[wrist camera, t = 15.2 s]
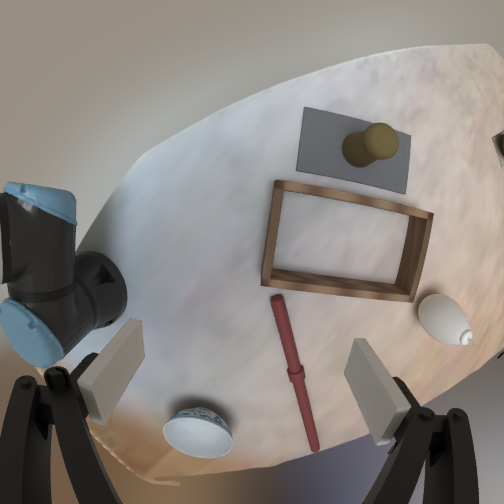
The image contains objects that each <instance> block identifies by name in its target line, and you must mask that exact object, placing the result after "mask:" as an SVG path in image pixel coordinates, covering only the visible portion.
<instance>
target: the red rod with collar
mask: <svg viewBox="0 0 504 504" xmlns="http://www.w3.org/2000/svg"><path fill="white" fill-rule="evenodd" d="M270 302H271V305H272V309H273V313H274V316H275V320H276V323H277V327H278V331H279V334H280V338H281V341H282V345H283V349H284V352H285V356H286V360H287V363H288V367H289V368H288V370H287V372H288V376H289V379H290V382H292V383H293V385H294V389H295V393H296V396H297V400H298V404H299V407H300V411H301V415H302V418H303V422H304V426H305V429H306V433H307V437H308V441H309V444H310V448H311V451H312V452H318V451H319V449H320V447H319V443H318V438H317V434H316V429H315V425H314V421H313V416H312V412H311V408H310V404H309V399H308V395H307V391H306V387H305V383H304V379H305V373H304V368H303V366H301V365H300V362H299V358H298V354H297V350H296V346H295V342H294V338H293V334H292V330H291V326H290V322H289V318H288V314H287V310H286V306H285V302H284V298H283V296H280V295H277V296H274V297H272V298H271V300H270Z"/></svg>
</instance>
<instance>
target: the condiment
mask: <svg viewBox="0 0 504 504" xmlns="http://www.w3.org/2000/svg"><path fill="white" fill-rule="evenodd" d="M493 141H494V144H495V147H496V150H497V153H498V157H499V159H500V163H501V166H502V167H504V157H502V156H504V131H503V132H501V133H499V134H498V135H496V136H495V137H493Z"/></svg>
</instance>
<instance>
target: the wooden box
mask: <svg viewBox="0 0 504 504" xmlns="http://www.w3.org/2000/svg"><path fill="white" fill-rule="evenodd" d="M284 191H291V192H297V193H303V194H309V195H314V196H320V197H326V198H331V199H336V200H341V201H347V202H352V203H356V204H361V205H366V206H371V207H375V208H380V209H384V210H389V211H393V212H397V213H401V214H406V215H410V218H409V224H408V230H407V235H406V240H405V245H404V250H403V254H402V259H401V263H400V267H399V271H398V275H397V279H396V283H395V284H387V283H379V282H371V281H363V280H355V279H347V278H339V277H331V276H324V275H316V274H308V273H301V272H293V271H286V270H279V269H272V265H273V258H274V252H275V246H276V239H277V233H278V226H279V220H280V213H281V206H282V199H283V193H284ZM433 216H434V213H431V212H427V211H423V210H420V209H416V208H412V207H408V206H405V205H401V204H397V203H393V202H388V201H384V200H380V199H376V198H371V197H367V196H362V195H358V194H353V193H348V192H343V191H338V190H333V189H328V188H323V187H317V186H312V185H306V184H300V183H294V182H288V181H282V180H276V181H274V188H273V195H272V202H271V209H270V216H269V223H268V229H267V236H266V243H265V250H264V256H263V263H262V270H261V286H266V287H273V288H281V289H289V290H297V291H305V292H313V293H322V294H330V295H339V296H348V297H358V298H367V299H378V300H388V301H399V302H411V303H413V302H414V298H415V295H416V292H417V288H418V285H419V281H420V277H421V273H422V269H423V265H424V261H425V257H426V252H427V248H428V243H429V238H430V233H431V227H432V222H433Z"/></svg>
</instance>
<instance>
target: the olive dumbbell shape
mask: <svg viewBox="0 0 504 504" xmlns="http://www.w3.org/2000/svg"><path fill="white" fill-rule="evenodd" d="M398 148H399V139H398V136H397V134H396V132H395V131H394V129H393V128H392V127H390V126H389V125H387V124H385V123H374V124H372V125H370V126H368V127H367V129H366V130H365V131H361V132H356V133H352V134H350V135H348V136H347V137H346V138H345V139H344V141H343V143H342V153H343V156H344V158H345V160H346V161H347V162H348V163H349V164H351V165H352V166H354V167H358V168H362V167H366V166H368V165H370V164H371V163H373V162H374V161H376V160H378V159H380V160H386V159H390V158H391V157H393V156H394V155H395V154H396V153H397V151H398Z"/></svg>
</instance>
